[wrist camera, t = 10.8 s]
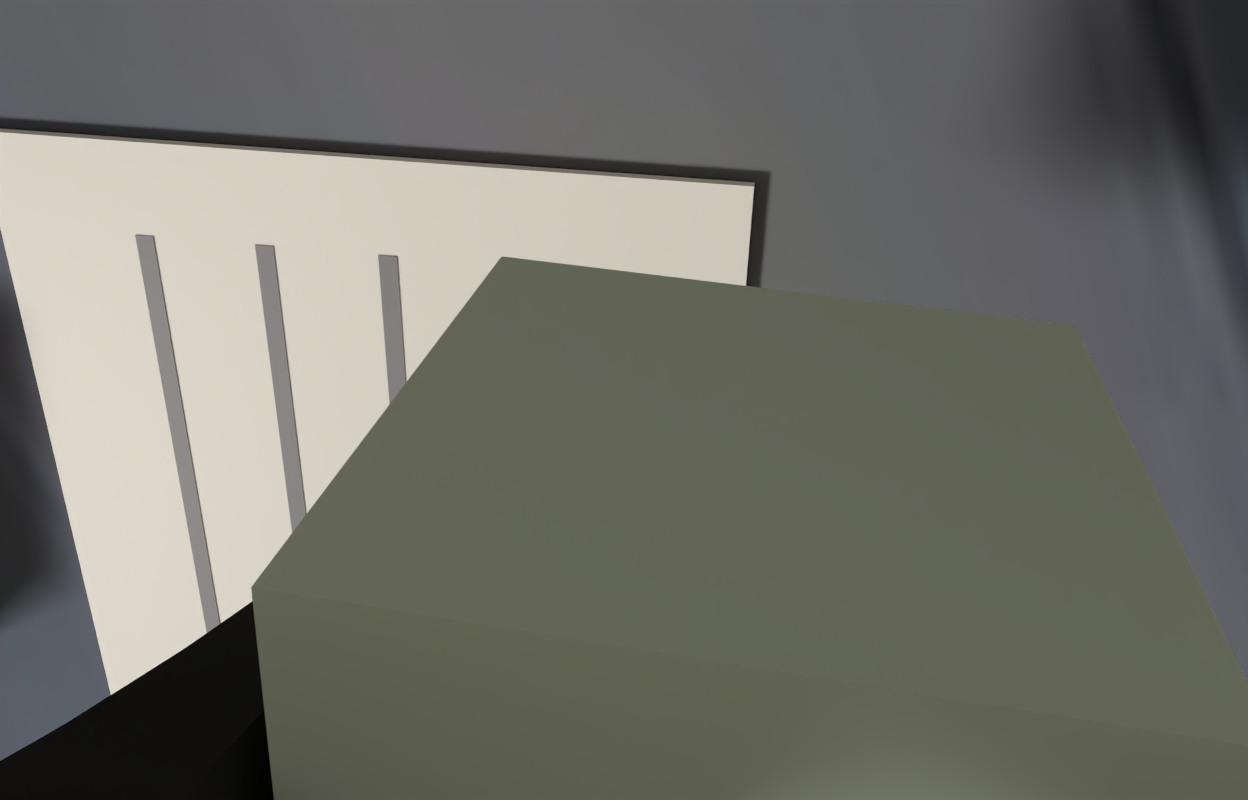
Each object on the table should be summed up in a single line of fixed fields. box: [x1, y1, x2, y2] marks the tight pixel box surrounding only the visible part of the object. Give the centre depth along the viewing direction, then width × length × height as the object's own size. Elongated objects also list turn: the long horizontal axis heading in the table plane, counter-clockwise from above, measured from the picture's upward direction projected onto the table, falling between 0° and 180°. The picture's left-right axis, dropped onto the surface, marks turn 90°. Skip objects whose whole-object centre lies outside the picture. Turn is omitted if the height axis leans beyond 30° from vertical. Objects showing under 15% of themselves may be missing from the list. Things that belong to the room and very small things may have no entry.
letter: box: [0, 129, 755, 695], centre depth 21 cm, size 12×16×1 cm
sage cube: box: [251, 256, 1248, 800], centre depth 9 cm, size 5×5×5 cm
